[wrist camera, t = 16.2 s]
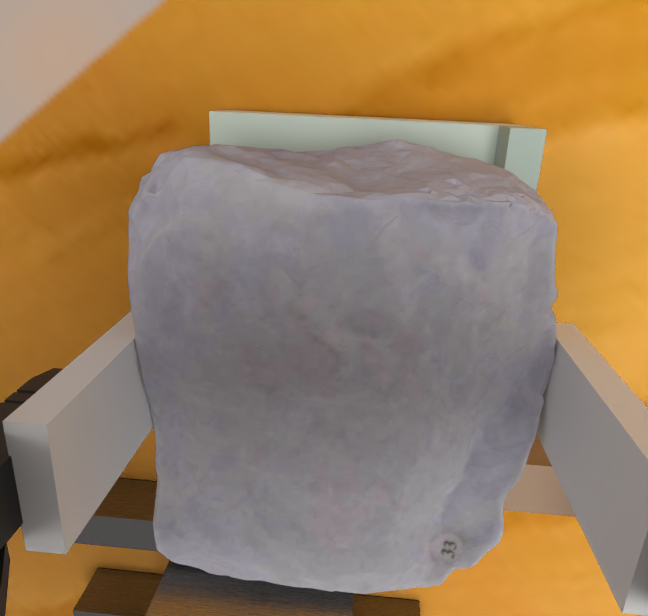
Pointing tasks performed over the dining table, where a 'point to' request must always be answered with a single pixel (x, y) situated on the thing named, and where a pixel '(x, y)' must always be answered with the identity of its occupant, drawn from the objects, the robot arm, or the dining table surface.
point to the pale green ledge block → (385, 136)
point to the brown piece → (538, 487)
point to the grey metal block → (239, 597)
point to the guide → (137, 533)
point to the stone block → (339, 357)
